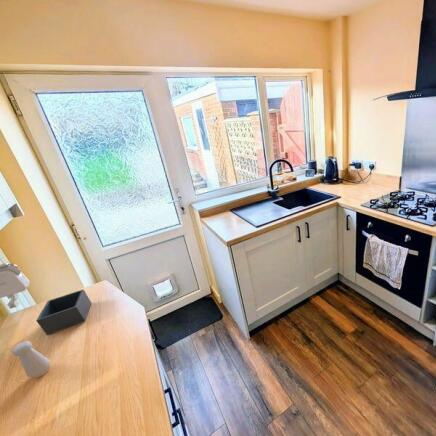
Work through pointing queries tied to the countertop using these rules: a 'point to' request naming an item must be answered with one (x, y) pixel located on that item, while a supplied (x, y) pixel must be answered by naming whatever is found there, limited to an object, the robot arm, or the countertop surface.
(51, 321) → the bin
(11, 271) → the robot arm
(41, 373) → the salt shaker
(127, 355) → the countertop surface
